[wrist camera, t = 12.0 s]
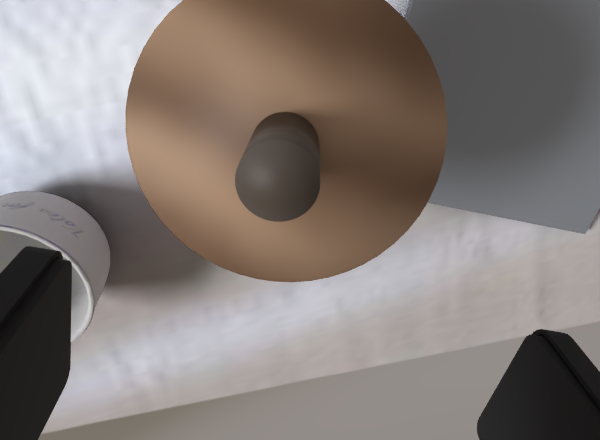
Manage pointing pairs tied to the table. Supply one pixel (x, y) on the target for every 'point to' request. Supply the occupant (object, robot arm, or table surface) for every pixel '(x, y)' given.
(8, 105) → the table surface
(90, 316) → the teacup
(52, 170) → the table surface
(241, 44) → the lid
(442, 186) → the mat
